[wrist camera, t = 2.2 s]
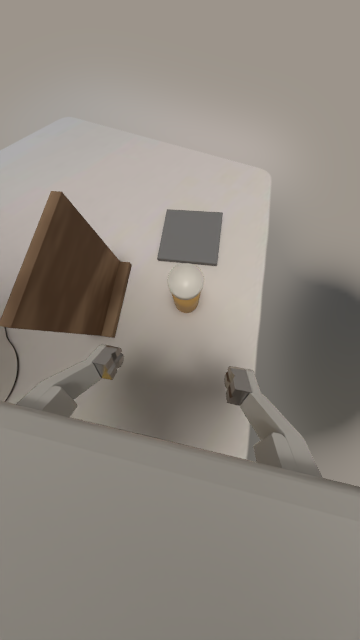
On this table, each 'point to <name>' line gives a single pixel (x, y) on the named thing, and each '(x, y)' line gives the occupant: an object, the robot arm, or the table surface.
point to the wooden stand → (67, 277)
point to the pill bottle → (185, 286)
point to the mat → (191, 237)
